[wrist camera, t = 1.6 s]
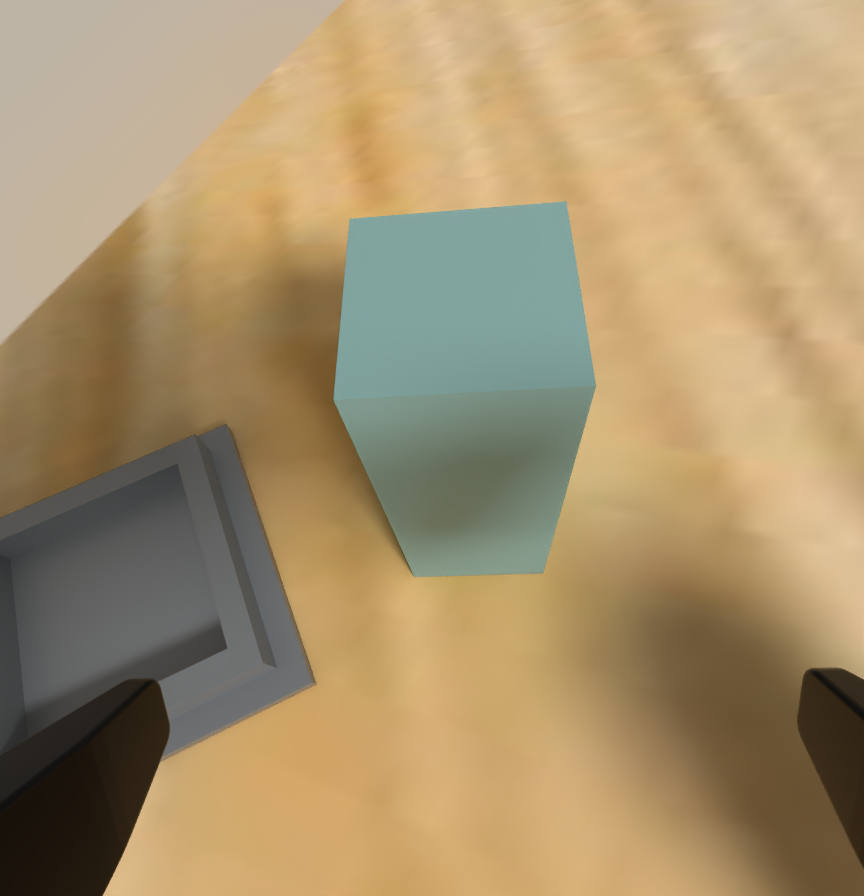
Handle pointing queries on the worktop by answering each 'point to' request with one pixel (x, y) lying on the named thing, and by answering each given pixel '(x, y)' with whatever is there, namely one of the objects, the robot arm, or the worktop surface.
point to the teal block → (466, 380)
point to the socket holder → (147, 597)
